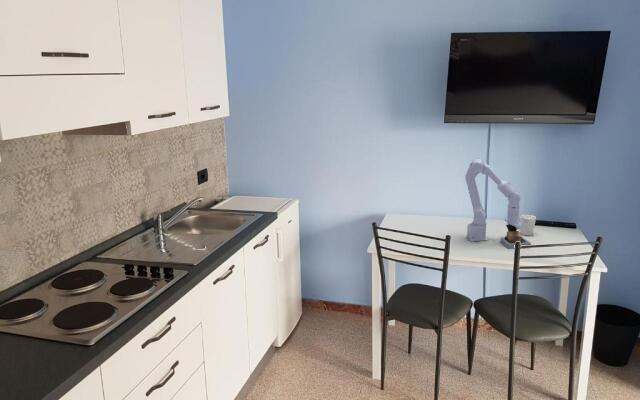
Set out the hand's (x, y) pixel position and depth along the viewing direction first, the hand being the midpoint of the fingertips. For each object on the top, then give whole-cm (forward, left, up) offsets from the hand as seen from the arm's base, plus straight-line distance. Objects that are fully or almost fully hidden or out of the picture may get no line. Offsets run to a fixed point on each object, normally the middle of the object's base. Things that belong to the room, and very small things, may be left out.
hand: (512, 237), depth 266 cm
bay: (-1, -5, -2) cm, 6 cm away
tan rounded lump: (0, -2, -2) cm, 2 cm away
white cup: (+13, +10, -2) cm, 16 cm away
